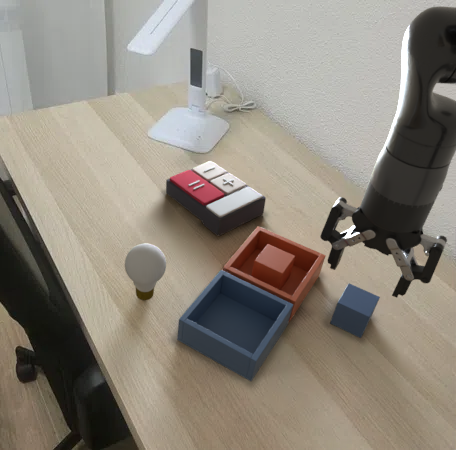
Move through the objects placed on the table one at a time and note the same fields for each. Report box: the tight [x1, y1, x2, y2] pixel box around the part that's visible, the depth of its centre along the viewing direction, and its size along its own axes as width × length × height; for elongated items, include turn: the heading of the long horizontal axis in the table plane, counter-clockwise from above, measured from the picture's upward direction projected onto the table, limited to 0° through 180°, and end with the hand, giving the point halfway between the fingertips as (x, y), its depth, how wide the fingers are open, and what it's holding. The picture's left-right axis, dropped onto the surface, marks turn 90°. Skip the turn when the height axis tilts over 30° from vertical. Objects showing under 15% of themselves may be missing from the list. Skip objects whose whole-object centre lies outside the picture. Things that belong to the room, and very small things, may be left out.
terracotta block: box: [251, 244, 295, 290], centre depth 84 cm, size 5×5×5 cm
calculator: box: [165, 160, 266, 237], centre depth 99 cm, size 11×4×15 cm
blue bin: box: [176, 269, 293, 382], centre depth 77 cm, size 12×12×4 cm
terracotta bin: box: [222, 226, 327, 323], centre depth 85 cm, size 12×12×4 cm
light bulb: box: [124, 242, 167, 301], centre depth 80 cm, size 6×6×10 cm
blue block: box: [329, 282, 381, 339], centre depth 79 cm, size 5×5×5 cm
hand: (364, 279), depth 75 cm, fingers open, 8 cm apart
